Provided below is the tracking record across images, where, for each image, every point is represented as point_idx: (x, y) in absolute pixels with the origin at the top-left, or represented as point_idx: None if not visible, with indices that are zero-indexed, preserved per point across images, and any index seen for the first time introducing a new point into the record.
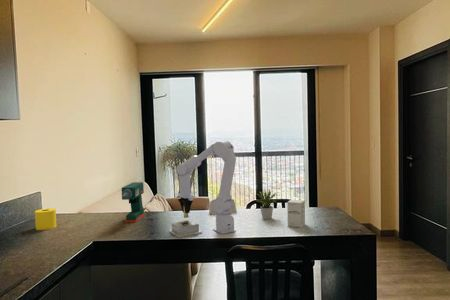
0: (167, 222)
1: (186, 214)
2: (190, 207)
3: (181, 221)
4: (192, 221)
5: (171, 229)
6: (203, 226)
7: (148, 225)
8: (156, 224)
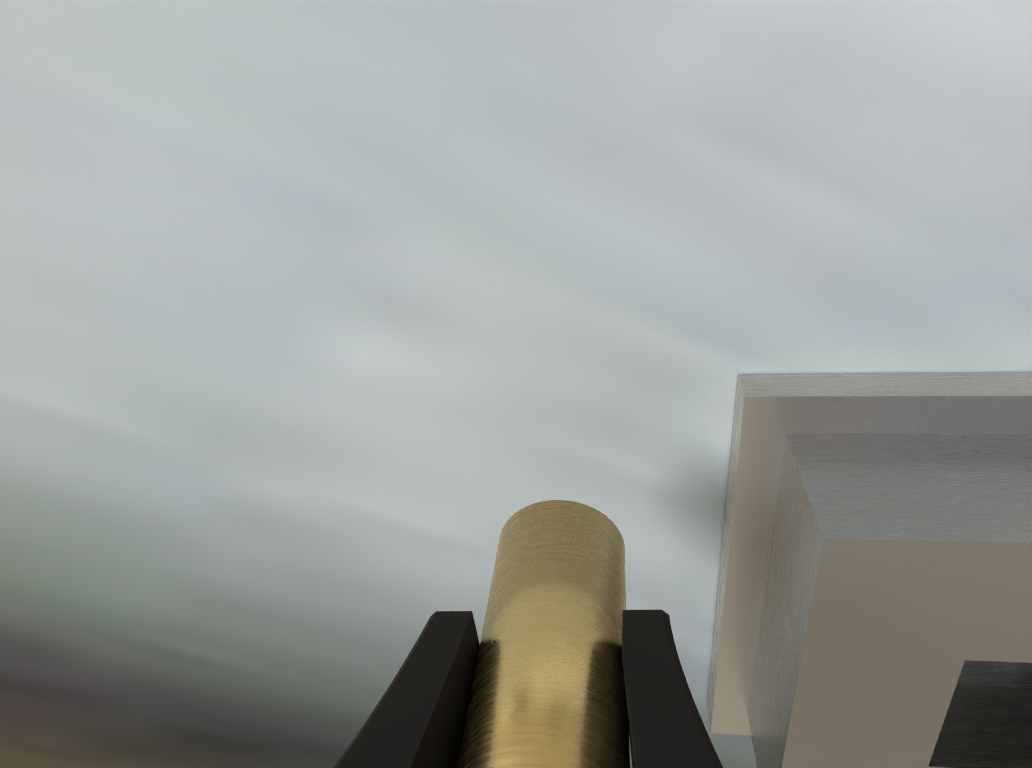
0: (98, 545)
1: None
2: (714, 758)
3: (806, 705)
4: (1029, 558)
5: (715, 708)
6: (822, 80)
7: (193, 758)
8: (175, 685)
